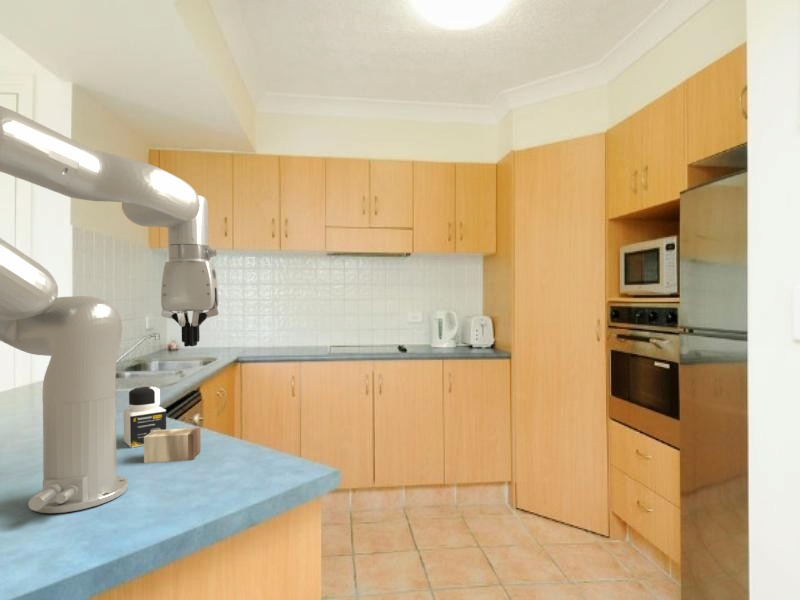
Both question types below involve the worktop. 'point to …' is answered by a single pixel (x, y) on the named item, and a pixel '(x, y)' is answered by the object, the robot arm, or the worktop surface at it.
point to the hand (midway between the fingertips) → (190, 345)
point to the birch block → (172, 445)
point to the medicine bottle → (143, 415)
